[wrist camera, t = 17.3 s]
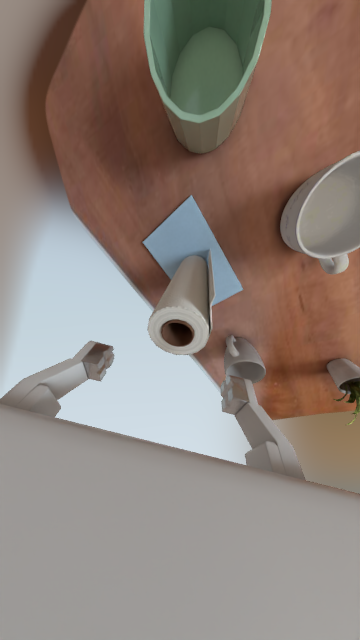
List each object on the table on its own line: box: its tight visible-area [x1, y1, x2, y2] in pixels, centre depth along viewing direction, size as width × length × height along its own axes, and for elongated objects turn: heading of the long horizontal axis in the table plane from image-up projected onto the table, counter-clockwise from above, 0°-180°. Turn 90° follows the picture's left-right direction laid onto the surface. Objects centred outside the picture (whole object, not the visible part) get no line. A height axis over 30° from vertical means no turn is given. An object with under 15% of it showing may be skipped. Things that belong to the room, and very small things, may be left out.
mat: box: [143, 195, 243, 306], centre depth 31 cm, size 20×12×1 cm, turn 37°
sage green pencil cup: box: [144, 0, 272, 154], centre depth 16 cm, size 10×10×9 cm
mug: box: [224, 335, 266, 384], centre depth 37 cm, size 12×9×10 cm
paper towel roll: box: [148, 249, 215, 355], centre depth 23 cm, size 7×6×21 cm
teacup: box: [280, 151, 360, 274], centre depth 22 cm, size 14×11×8 cm
